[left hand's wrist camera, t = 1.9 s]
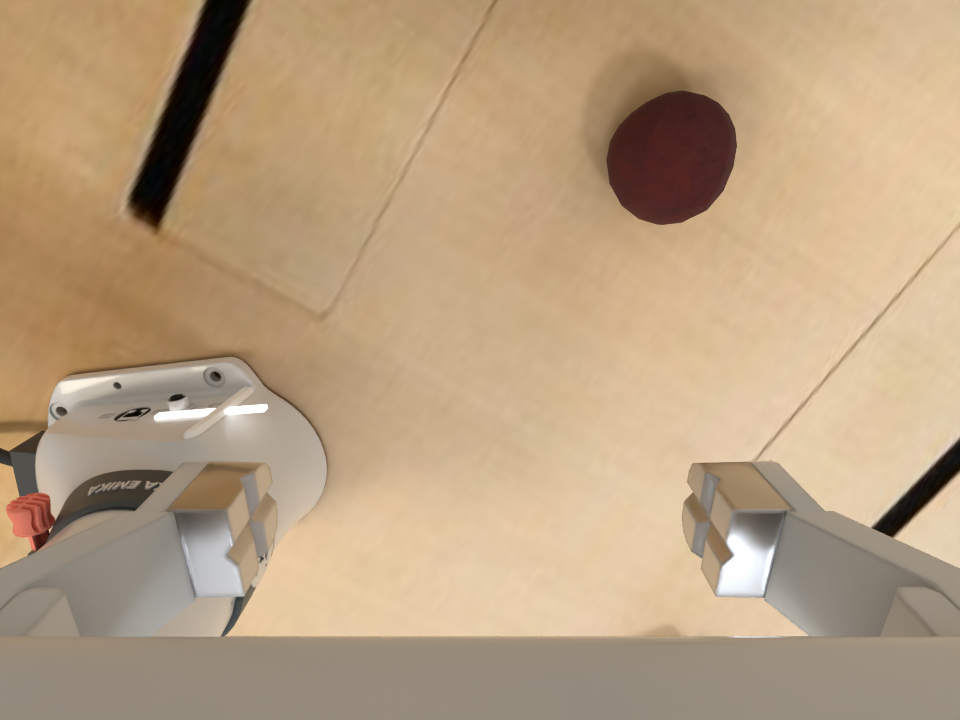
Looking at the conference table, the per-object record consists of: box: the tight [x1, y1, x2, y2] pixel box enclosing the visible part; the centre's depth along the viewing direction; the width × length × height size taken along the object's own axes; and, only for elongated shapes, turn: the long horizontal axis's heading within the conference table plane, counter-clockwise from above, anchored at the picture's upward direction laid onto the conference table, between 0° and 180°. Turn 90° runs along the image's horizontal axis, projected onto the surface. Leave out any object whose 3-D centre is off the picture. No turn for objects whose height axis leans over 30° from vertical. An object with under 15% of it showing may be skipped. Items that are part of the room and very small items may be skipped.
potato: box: [607, 91, 737, 225], centre depth 33 cm, size 7×8×7 cm
